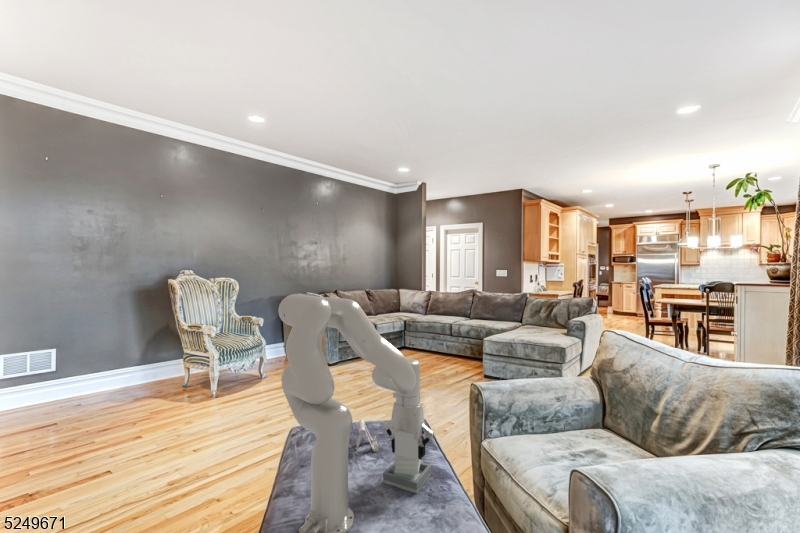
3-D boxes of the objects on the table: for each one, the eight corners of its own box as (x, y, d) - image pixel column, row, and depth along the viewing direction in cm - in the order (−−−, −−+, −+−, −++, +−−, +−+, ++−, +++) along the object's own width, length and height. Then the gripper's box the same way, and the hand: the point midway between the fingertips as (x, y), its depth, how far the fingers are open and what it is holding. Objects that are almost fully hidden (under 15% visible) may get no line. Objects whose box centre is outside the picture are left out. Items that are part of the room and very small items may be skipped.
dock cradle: (416, 493, 111) (416, 483, 111) (382, 482, 117) (383, 473, 117) (431, 474, 121) (431, 465, 121) (400, 465, 127) (400, 456, 127)
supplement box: (421, 462, 122) (421, 423, 122) (418, 475, 115) (417, 433, 115) (399, 460, 123) (398, 421, 123) (394, 472, 116) (394, 431, 116)
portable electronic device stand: (378, 451, 137) (378, 428, 137) (356, 453, 135) (356, 429, 135) (375, 440, 145) (376, 419, 145) (355, 442, 144) (355, 420, 144)
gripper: (378, 398, 120) (378, 453, 120) (429, 407, 112) (428, 466, 112) (389, 391, 126) (389, 443, 126) (438, 399, 118) (438, 455, 118)
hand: (408, 453), depth 119 cm, fingers closed on supplement box, 8 cm apart
